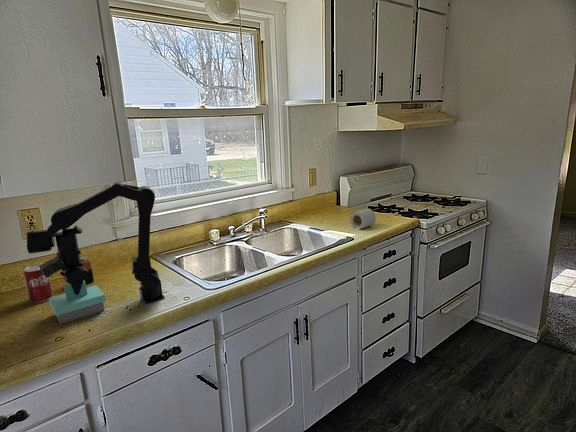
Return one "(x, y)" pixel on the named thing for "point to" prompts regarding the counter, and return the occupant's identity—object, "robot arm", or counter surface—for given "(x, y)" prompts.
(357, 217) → the toilet paper
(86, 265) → the battery
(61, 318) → the tub
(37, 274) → the soda can
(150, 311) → the counter surface
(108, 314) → the counter surface
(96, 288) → the lid
